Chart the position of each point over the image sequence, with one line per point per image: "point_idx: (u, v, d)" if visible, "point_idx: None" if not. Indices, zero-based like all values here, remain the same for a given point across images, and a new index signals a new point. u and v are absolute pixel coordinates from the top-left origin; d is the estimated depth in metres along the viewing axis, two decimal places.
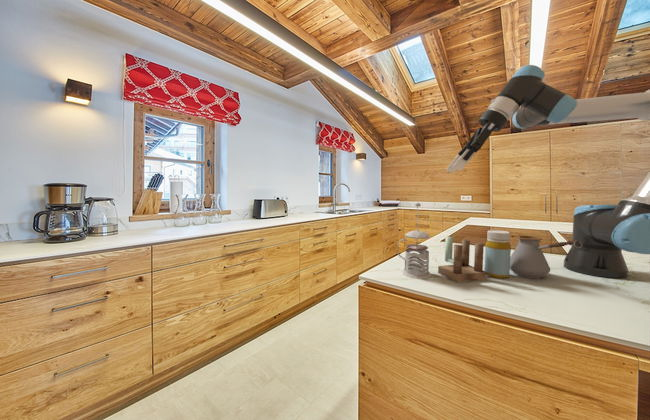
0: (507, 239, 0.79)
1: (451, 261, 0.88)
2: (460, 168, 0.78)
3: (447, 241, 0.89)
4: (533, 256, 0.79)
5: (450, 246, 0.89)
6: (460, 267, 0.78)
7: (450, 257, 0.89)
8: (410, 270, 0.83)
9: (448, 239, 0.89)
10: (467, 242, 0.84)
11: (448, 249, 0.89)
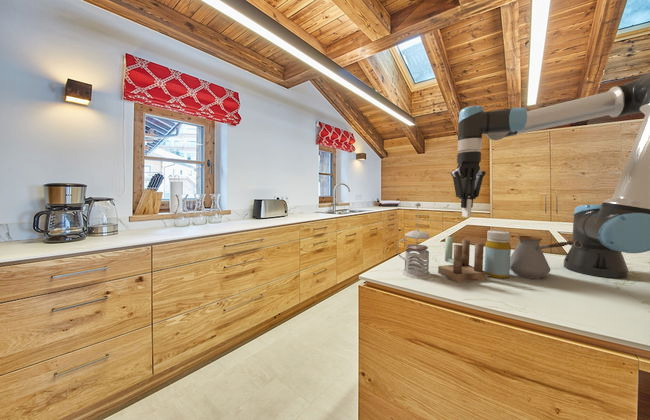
0: (507, 239, 0.79)
1: (451, 261, 0.88)
2: (466, 215, 0.90)
3: (447, 241, 0.89)
4: (533, 256, 0.79)
5: (450, 246, 0.89)
6: (460, 267, 0.78)
7: (450, 257, 0.89)
8: (410, 270, 0.83)
9: (448, 239, 0.89)
10: (467, 242, 0.84)
11: (448, 249, 0.89)
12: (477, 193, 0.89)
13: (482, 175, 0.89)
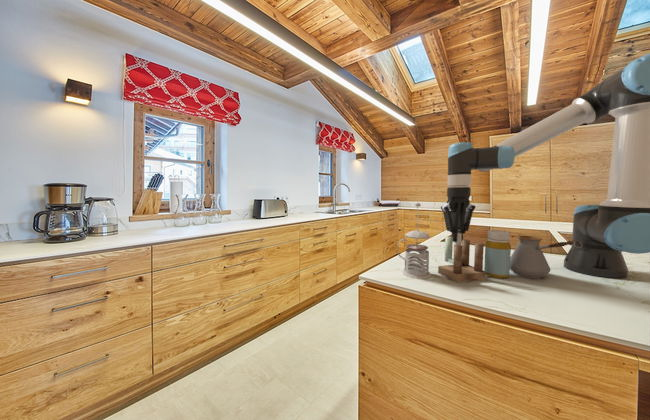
0: (507, 239, 0.79)
1: (451, 261, 0.88)
2: None
3: (447, 241, 0.89)
4: (533, 256, 0.79)
5: (450, 246, 0.89)
6: (460, 267, 0.78)
7: (450, 257, 0.89)
8: (410, 270, 0.83)
9: (448, 239, 0.89)
10: (467, 242, 0.84)
11: (448, 249, 0.89)
12: (467, 227, 0.90)
13: (472, 209, 0.90)
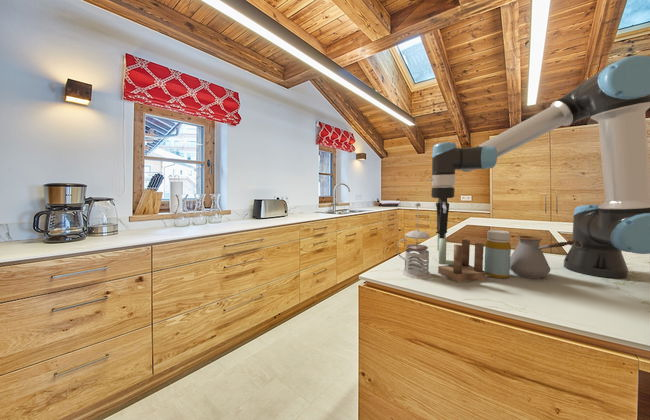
0: (507, 239, 0.79)
1: (450, 263, 0.86)
2: None
3: (444, 243, 0.86)
4: (533, 256, 0.79)
5: None
6: (460, 267, 0.78)
7: (445, 259, 0.87)
8: (410, 270, 0.83)
9: (445, 241, 0.86)
10: (467, 242, 0.84)
11: (445, 251, 0.86)
12: None
13: None
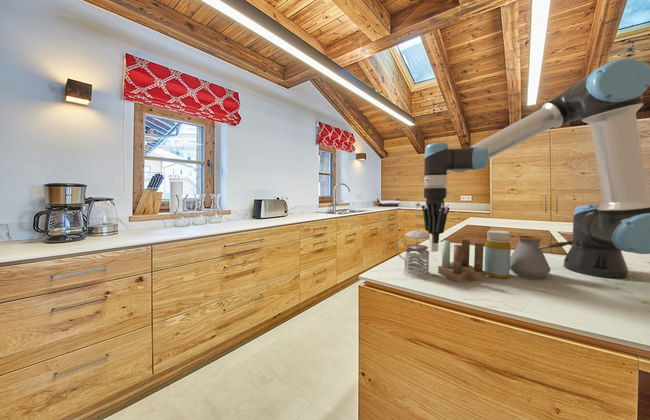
0: (507, 239, 0.79)
1: None
2: (436, 249, 0.90)
3: (449, 245, 0.83)
4: (533, 256, 0.79)
5: None
6: (460, 267, 0.78)
7: None
8: (410, 270, 0.83)
9: None
10: (467, 242, 0.84)
11: (449, 253, 0.84)
12: None
13: None
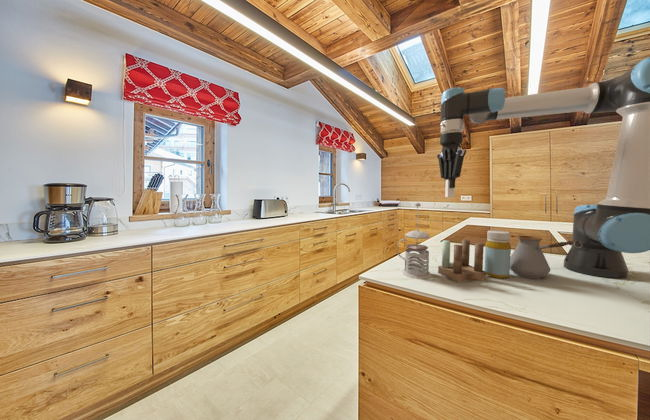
0: (507, 239, 0.79)
1: None
2: (452, 195, 0.92)
3: (449, 245, 0.83)
4: (533, 256, 0.79)
5: None
6: (460, 267, 0.78)
7: None
8: (410, 270, 0.83)
9: None
10: (467, 242, 0.84)
11: (449, 253, 0.84)
12: None
13: None
